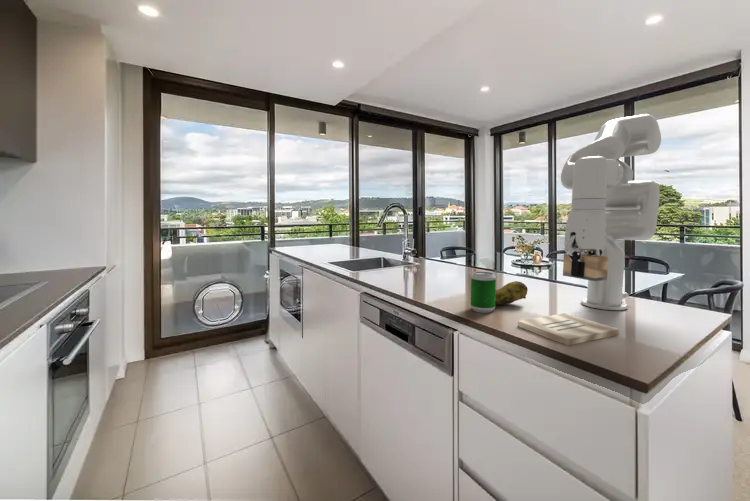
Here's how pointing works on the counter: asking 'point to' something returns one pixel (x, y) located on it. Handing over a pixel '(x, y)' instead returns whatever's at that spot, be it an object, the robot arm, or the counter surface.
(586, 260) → the block
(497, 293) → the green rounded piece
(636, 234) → the robot arm
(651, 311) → the counter surface
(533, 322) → the board
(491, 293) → the soda can
